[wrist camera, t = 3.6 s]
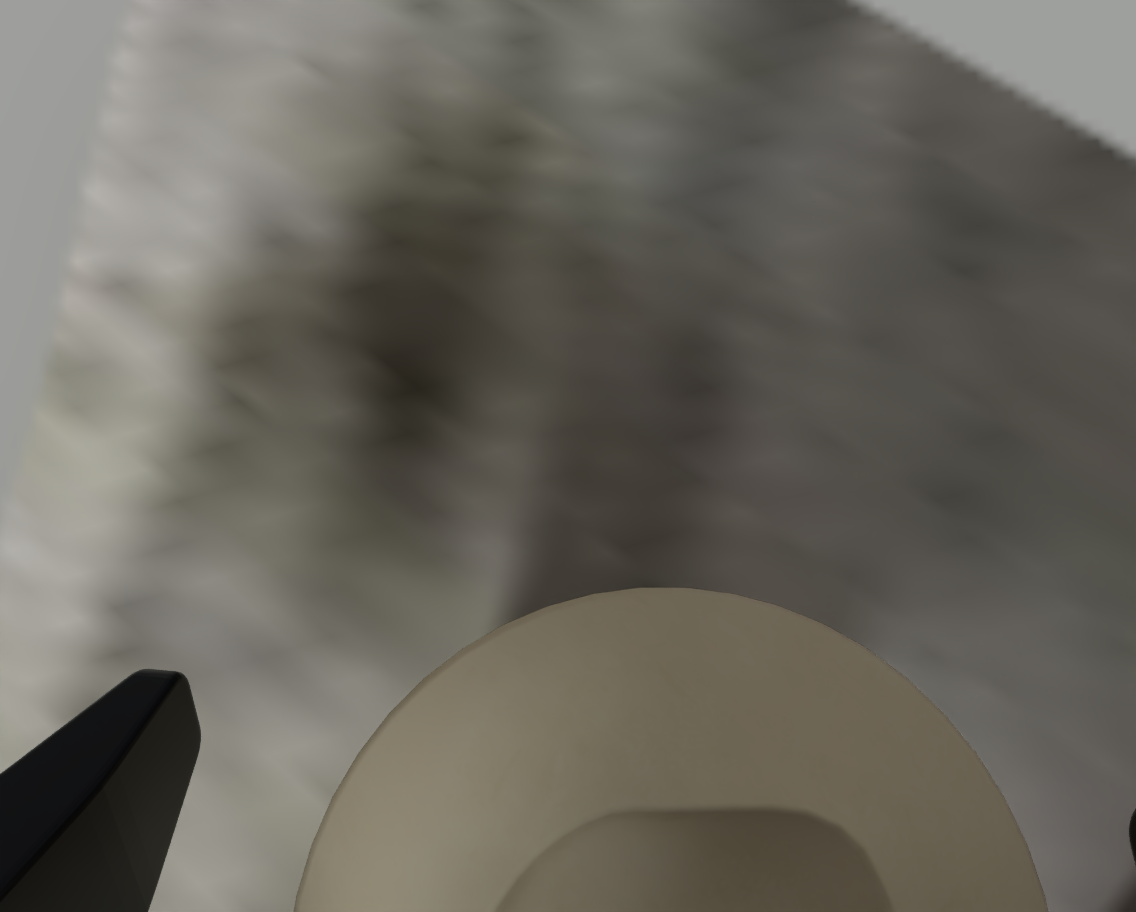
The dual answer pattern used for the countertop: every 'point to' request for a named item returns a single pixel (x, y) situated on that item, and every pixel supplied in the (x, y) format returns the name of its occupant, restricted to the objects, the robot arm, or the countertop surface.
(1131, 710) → the countertop surface
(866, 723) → the candle
